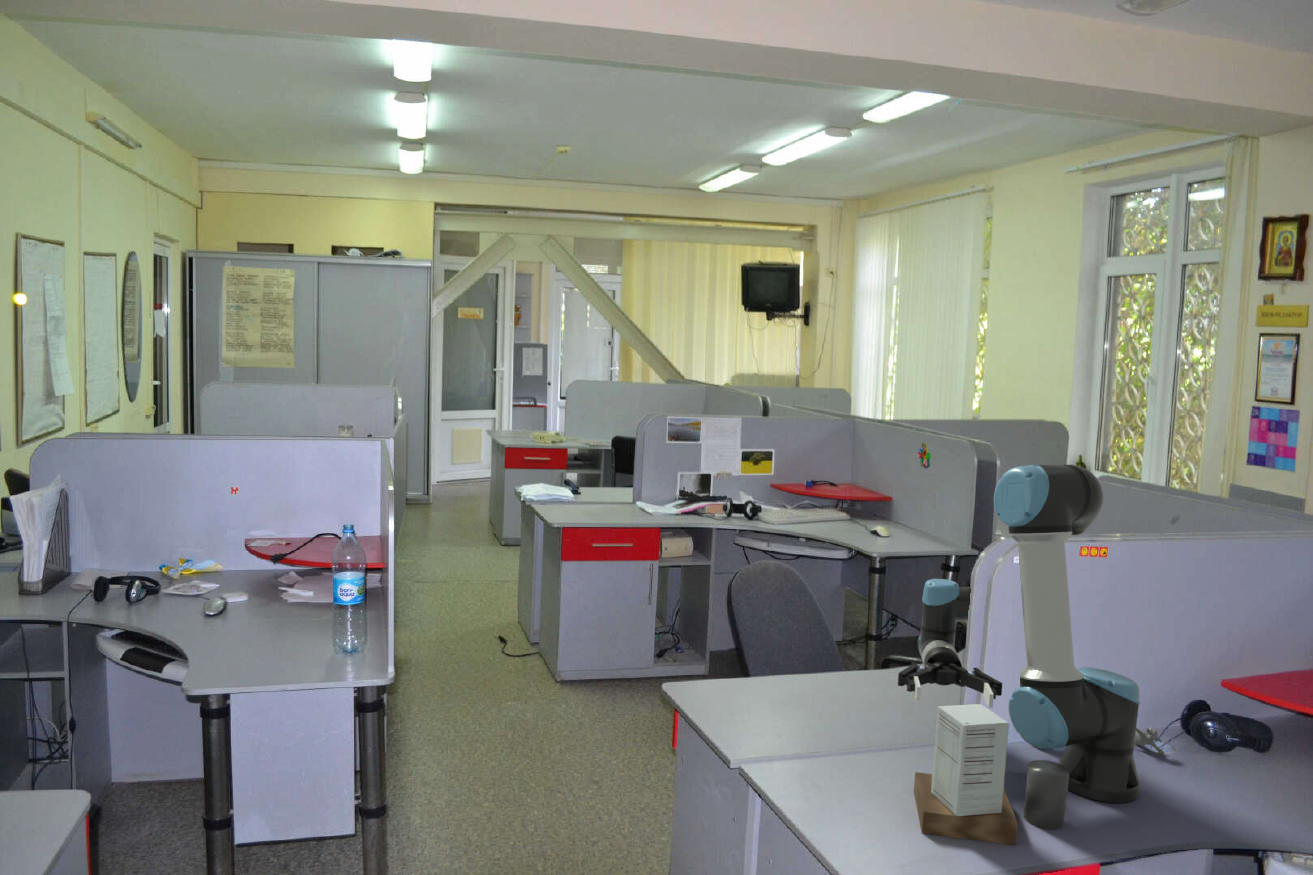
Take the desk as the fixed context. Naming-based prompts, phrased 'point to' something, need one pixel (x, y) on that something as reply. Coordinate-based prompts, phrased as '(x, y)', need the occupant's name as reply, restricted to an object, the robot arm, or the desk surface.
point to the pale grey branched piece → (1148, 738)
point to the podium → (962, 817)
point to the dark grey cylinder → (1046, 794)
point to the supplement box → (969, 759)
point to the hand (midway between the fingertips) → (954, 697)
